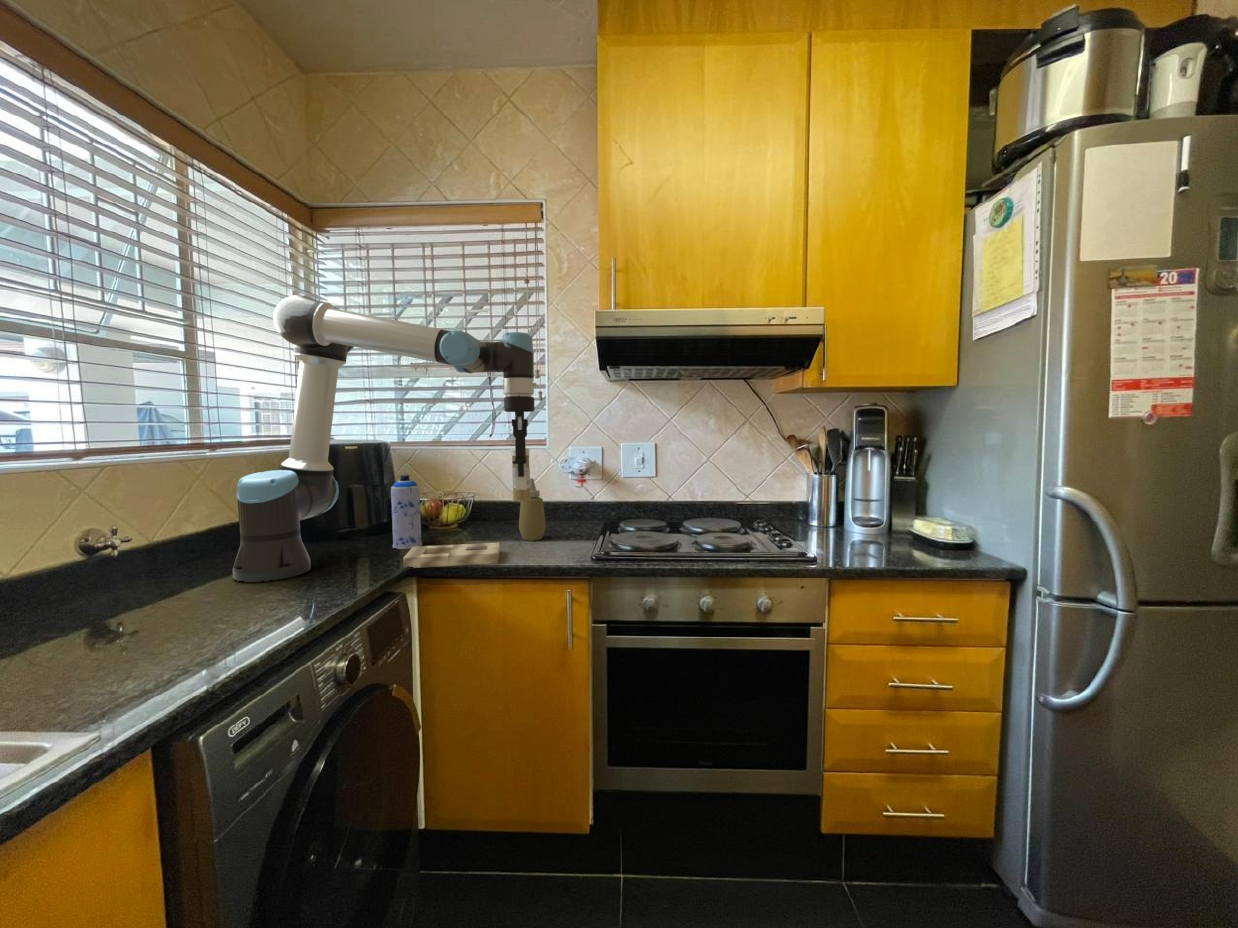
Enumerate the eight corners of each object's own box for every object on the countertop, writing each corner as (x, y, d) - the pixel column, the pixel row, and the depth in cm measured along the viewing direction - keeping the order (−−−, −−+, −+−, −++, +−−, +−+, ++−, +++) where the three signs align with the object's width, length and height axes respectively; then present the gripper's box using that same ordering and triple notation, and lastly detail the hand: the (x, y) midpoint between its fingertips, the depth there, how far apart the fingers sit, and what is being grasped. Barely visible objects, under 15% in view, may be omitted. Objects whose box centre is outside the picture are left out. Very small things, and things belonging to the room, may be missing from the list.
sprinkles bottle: (523, 498, 139) (522, 447, 138) (534, 500, 136) (533, 447, 135) (509, 500, 136) (507, 448, 135) (519, 502, 132) (518, 448, 131)
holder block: (403, 568, 127) (403, 556, 127) (413, 556, 139) (412, 545, 138) (498, 563, 131) (497, 552, 131) (499, 551, 143) (499, 541, 142)
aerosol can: (419, 541, 156) (416, 473, 154) (425, 546, 149) (422, 475, 148) (390, 544, 152) (387, 475, 150) (395, 550, 145) (392, 477, 144)
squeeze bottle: (549, 536, 162) (548, 477, 160) (542, 542, 154) (541, 480, 152) (523, 535, 162) (521, 477, 161) (515, 541, 154) (513, 480, 153)
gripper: (535, 394, 126) (537, 492, 128) (533, 397, 143) (535, 484, 145) (502, 394, 124) (505, 493, 126) (504, 397, 141) (507, 485, 143)
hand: (521, 488), depth 135 cm, fingers closed on sprinkles bottle, 4 cm apart
